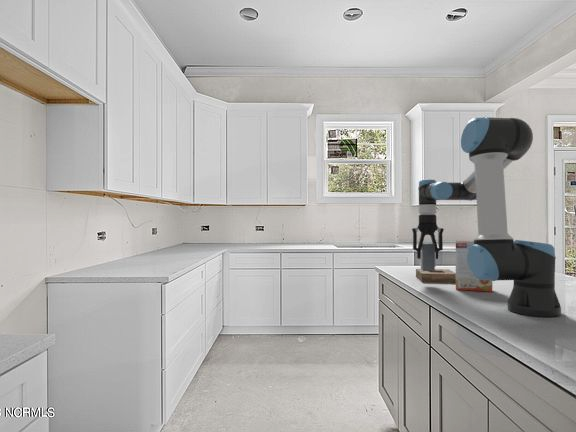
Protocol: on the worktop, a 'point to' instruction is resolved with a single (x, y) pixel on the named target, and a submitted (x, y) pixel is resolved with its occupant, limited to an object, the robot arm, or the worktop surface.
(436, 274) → the socket plate
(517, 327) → the worktop surface
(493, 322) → the worktop surface
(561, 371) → the worktop surface
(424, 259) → the peg
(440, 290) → the worktop surface
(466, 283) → the cracker box
